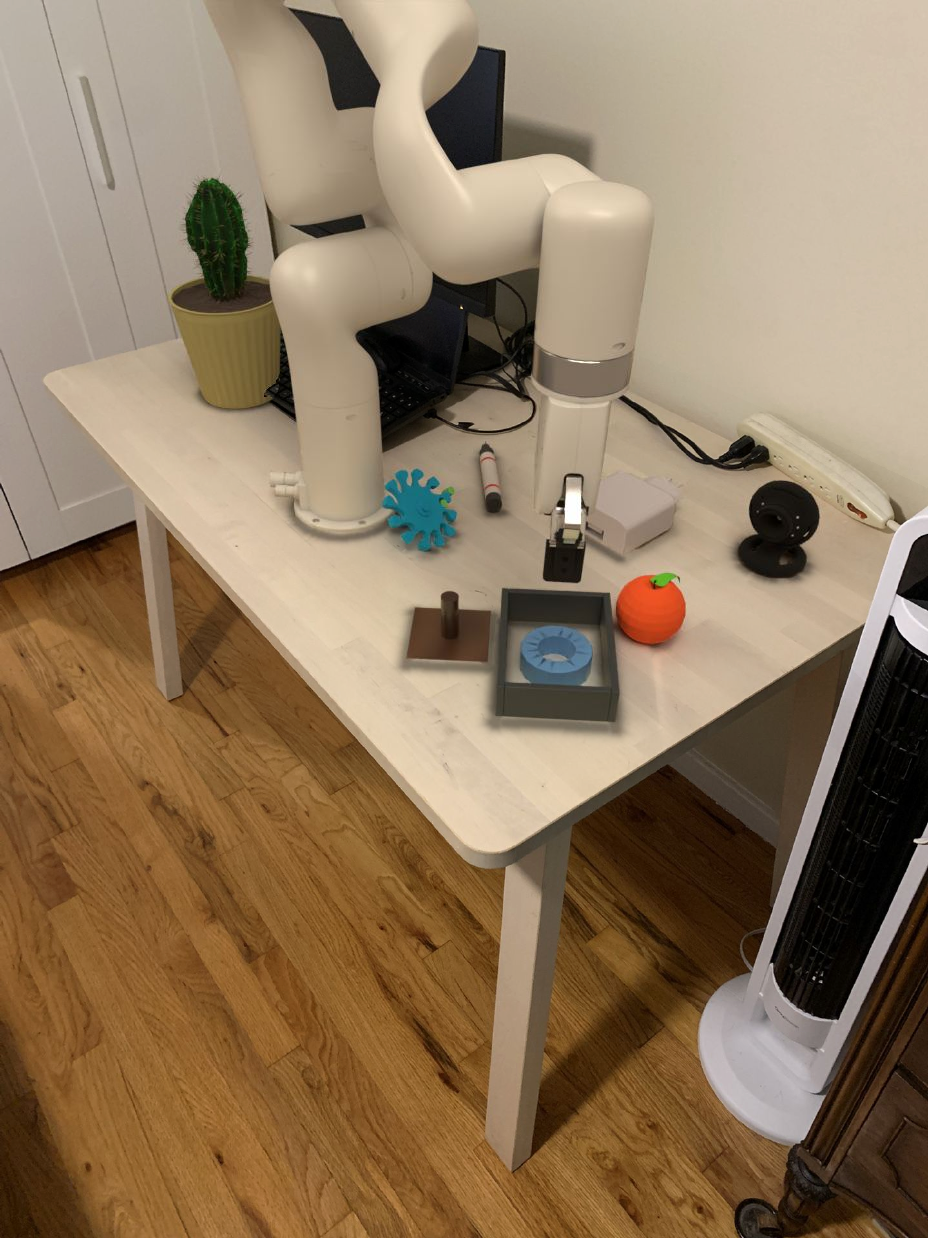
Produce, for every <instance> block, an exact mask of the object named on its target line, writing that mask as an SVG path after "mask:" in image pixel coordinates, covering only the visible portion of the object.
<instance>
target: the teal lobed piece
mask: <svg viewBox="0 0 928 1238" xmlns="http://www.w3.org/2000/svg"><path fill="white" fill-rule="evenodd" d="M424 476H425V473H424V472H423V470H421V469H420V468H417V467H415V468H414V469H413V470H412V471H410V478H411V484H408V481H407V480H408V478H409V472H408V470H406V469H400V470H398V471H396V472H394V477H395V478H392V479H390V480H389V481H387V482H386V485H385V486H384V487H385V489H386V490H387V491H388V492H390V493H391V494H392V495H393V496H394V497H395V498H396V500H397V502H398V504H397V503H396V502H395V500H394V498H393V497H392V496H390V495H388V496H387V497H385V498H384V499H383V504H382V506H383V507H384V508H385V509H392V510H394V511H396V513H397V514H399V515H397V514H395V515H392V516H391V517H389V518H388V521H387V522H388V525H389V527H390V528H391V529H396V528H397V527H400V528H401V527H405V526H406V527H409V530H406V531H404V532H403V533H402V534H400V539H401V540H402V542H404V543H405V544H406V545H409V544H410V543H412V542H414V541H415V537H416V535H417V534H420V535H421V536H422V539H421V540H420V541H418V543H417V547H416V548H417V549H419V550H420V551H422V552H427V551H429V550H430V549H431V547H432V545H434V546H435V547H443V546H444V545H445V544H446V543H447V541H446V540H445V538H444V537H443V535H444V536H445V537H448V538H451V537H453V536H454V535H455V534H456V533H457V531H456V529H455V528H454V527H453V526H451V525H450V524H452V523H454V522H456V520H457V518H458V512H457V510H455V509H448V506H449V503H451V502H452V496H454V495H455V494H456V489H455V488H454V487H453V486H452V485H451V486H448V487H447V488H445V489H443V490H442V491H441V494H437V493H433V492H432V490H435V489H437V488H438V487H439V486H440V485H441V484H440V481H439V479H438V478H436V476H434V475H433V476H431V477H430V478H428V479H427V480H426V484H425V485H424V486H422V485H421V484H420V483H419V481H420V480H421V479H422V478H424ZM398 484H399V485H398ZM399 486H400V489H399ZM444 517H445V518H444ZM449 523H450V524H449ZM441 529H442V532H441ZM431 535H433V542H432V544H431Z"/></svg>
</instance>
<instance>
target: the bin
mask: <svg viewBox="0 0 928 1238" xmlns="http://www.w3.org/2000/svg"><path fill="white" fill-rule="evenodd" d="M500 596H501V597H500V598H501V600H500V614H499V615H500V618H499V635H498V636H499V637H498V655H497V656H498V657H497V676H496V697H495V717H507V718H523V719H524V718H526V719H544V720H545V719H546V720H564V721H565V720H566V721H586V722H603V723H607V722H608V723H615V722H616V719H617V711H618V705H619V699H620V694H621V693H620V691H621V690H620V682H619V681H620V680H619V672H618V661H617V660H618V659H617V650H616V641H615V631H614V621H613V620H614V619H613V608H612V600H611V593H610V592H602V591H601V592H599V591H579V590H559V589H557V590H556V589H533V588H514V587H513V588H512V587H510V588H508V587H502V588H501V595H500ZM508 622H523V623H524V622H525V623H543V624H544V623H546V624H547V623H548V624H568V625H587V626H599V634H600V636H599V637H600V646H601V647H600V648H601V649H600V650H601V659H602V673H603V685H604V686H594V685H579V686H576V685H556V684H536V683H530V682H517V681H516V682H515V681H514V682H512V681H506V662H507V638H508Z"/></svg>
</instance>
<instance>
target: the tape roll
mask: <svg viewBox="0 0 928 1238" xmlns="http://www.w3.org/2000/svg"><path fill="white" fill-rule="evenodd" d="M588 639H589V638H587V637H586V636H585V635H584V634H583V633H581V632H580V631H578V630H577V629H574V628H571V627H567V626H564V625H551V624H550V625H545V626H541V627H537V628H535V629H533V630H531V631H529V632H528V633H526V635H525V636H524V638H523V639H522V641H521V642H520V657H519V670H520V673H521V674H522V676H523V677H524V679H525V680H526V681H528V683H536V684H556V685H576V686H582V685H583V684H584V683H585V682H587V680H588V678H589V676H590V674H591V670H592V663H593V662H592V661H593V654H594V653H593V646H592V644H591V642H590V641H589V640H588ZM548 655H560V656H563V657H565V658H567V659H565V660H562V661H557V660H556V661H554V660H551V659H548V658H546V657H545V656H548Z"/></svg>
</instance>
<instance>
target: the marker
mask: <svg viewBox="0 0 928 1238" xmlns="http://www.w3.org/2000/svg"><path fill="white" fill-rule="evenodd" d="M478 454H479V464H480V465H479V466H480V472H481V479H482V486H483V494H484V501H485V505H486V509H487V510H488V512H492V513H496V512H500V510H501V509H502V507H503V500H502V493H501V486H500V480H499V474H498V468H497V462H496V457H495V452H494V449H493V448H492V447H491V446H490V444H489V443H487V441H484V443H483V444H482V445H481V447H480V449H479V452H478Z"/></svg>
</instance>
